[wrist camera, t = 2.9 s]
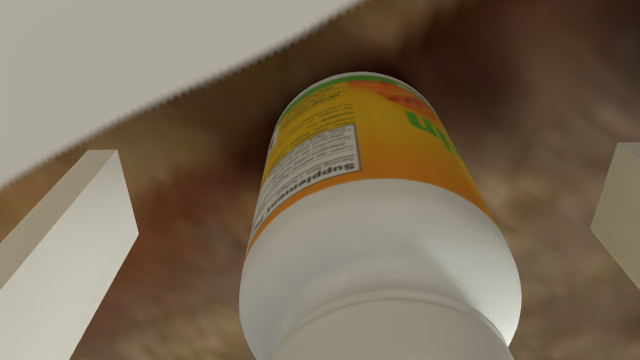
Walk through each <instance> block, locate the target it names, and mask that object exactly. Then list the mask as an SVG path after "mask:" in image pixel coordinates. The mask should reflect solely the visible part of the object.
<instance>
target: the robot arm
mask: <svg viewBox="0 0 640 360" xmlns="http://www.w3.org/2000/svg"><path fill="white" fill-rule="evenodd" d="M590 230H591V231H592V232H593V233H594V234H595V236H596V237H597V238H598V239H599V241H600V242H601V243H602V244H603V246H604V247H605V248H606V249H607V250H608V252H609V253H610V254H611V255H612V257H613V258H614V259H615V260H616V261H617V263H618V264H619V265H620V266H621V268H622V269H623V270H624V271H625V273H626V274H627V275H628V276H629V277H630V279H631V280H632V281H633V282H634V284H635V285H636V286H637V287H638V288H639V290H640V142H627V143H617V147H616V150H615V153H614V156H613V159H612V162H611V165H610V168H609V171H608V174H607V177H606V180H605V184H604V187H603V190H602V193H601V196H600V199H599V202H598V205H597V208H596V211H595V214H594V217H593V221H592V224H591V227H590ZM138 234H139V233H138V229H137V225H136V221H135V217H134V214H133V210H132V206H131V202H130V198H129V194H128V190H127V186H126V182H125V179H124V175H123V171H122V167H121V163H120V159H119V155H118V151H117V150H88V151H87V152H86V153H85V154H84V155H83V156H82V157H81V158H80V159H79V160H78V161H77V163H76V164H75V165H74V166H73V167H72V168H71V169H70V170H69V171H68V172H67V173H66V174H65V175H64V176H63V177H62V178H61V179H60V181H59V182H58V183H57V184H56V185H55V186H54V187H53V188H52V189H51V190H50V191H49V192H48V193H47V194H46V195H45V196H44V197H43V199H42V200H41V201H40V202H39V203H38V204H37V205H36V206H35V207H34V208H33V209H32V210H31V211H30V212H29V213H28V214H27V215H26V217H25V218H24V219H23V220H22V221H21V222H20V223H19V224H18V225H17V226H16V227H15V228H14V229H13V230H12V231H11V232H10V233H9V235H8V236H7V237H6V238H5V239H4V240H3V241H2V242H1V243H0V360H69V359H70V357H71V355H72V353H73V352H74V350H75V348H76V346H77V344H78V343H79V341H80V339H81V337H82V335H83V334H84V332H85V330H86V328H87V326H88V325H89V323H90V321H91V319H92V317H93V316H94V314H95V312H96V310H97V308H98V307H99V305H100V303H101V301H102V299H103V298H104V296H105V294H106V292H107V290H108V288H109V287H110V285H111V283H112V281H113V279H114V278H115V276H116V274H117V272H118V270H119V269H120V267H121V265H122V263H123V261H124V260H125V258H126V256H127V254H128V252H129V251H130V249H131V247H132V245H133V243H134V242H135V240H136V238H137V236H138Z"/></svg>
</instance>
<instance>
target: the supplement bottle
mask: <svg viewBox="0 0 640 360" xmlns="http://www.w3.org/2000/svg"><path fill="white" fill-rule="evenodd" d="M521 299H522V296H521V285H520V279H519V274H518V271H517V267H516V264H515V261H514V259H513V256H512V254H511V252H510V250H509V247H508V245H507V243H506V241H505V239H504V236H503V234H502V232H501V230H500V229H499V227H498V225H497V224H496V222H495V220H494V218H493V217H492V215H491V213H490V211H489V209H488V207H487V205H486V203H485V202H484V200H483V198H482V196H481V194H480V192H479V191H478V189H477V187H476V185H475V183H474V181H473V179H472V178H471V176H470V174H469V172H468V170H467V169H466V167H465V164H464V163H463V161H462V159H461V157H460V156H459V154H458V152H457V150H456V149H455V147H454V145H453V143H452V141H451V139H450V137H449V136H448V134H447V132H446V130H445V128H444V126H443V124H442V123H441V121H440V119H439V117H438V116H437V114H436V112H435V111H434V109H433V108H432V106H431V105H430V104H429V103H428V101H427V100H426V99H425V98H424V97H423V96H422V95H421V94H420V93H419V92H417V91H416V90H415V89H414V88H412V87H411V86H409V85H407V84H406V83H404V82H402V81H400V80H398V79H395V78H393V77H390V76H387V75H383V74H379V73H373V72H350V73H343V74H338V75H335V76H332V77H329V78H326V79H324V80H321V81H319V82H317V83H315V84H313V85H311V86H310V87H308V88H307V89H305V90H304V91H302V92H301V93H300V94H299V95H298V96H296V97H295V98H294V99H293V100H292V102H291V103H290V104H289V105H288V106H287V108H286V109H285V110H284V112H283V114H282V115H281V117H280V118H279V120H278V122H277V124H276V127H275V129H274V132H273V135H272V138H271V142H270V145H269V150H268V155H267V159H266V164H265V169H264V174H263V178H262V183H261V188H260V193H259V197H258V201H257V205H256V210H255V216H254V220H253V225H252V229H251V234H250V238H249V242H248V247H247V251H246V256H245V260H244V265H243V271H242V278H241V285H240V294H239V312H240V322H241V326H242V329H243V333H244V336H245V339H246V341H247V343H248V346H249V348H250V349H251V351H252V353H253V355H254V356H255V358H256V360H514V359H513V357H512V355H511V353H510V351H509V348H508V346H509V344H510V342H511V340H512V338H513V335H514V333H515V331H516V328H517V325H518V321H519V316H520V310H521Z"/></svg>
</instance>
